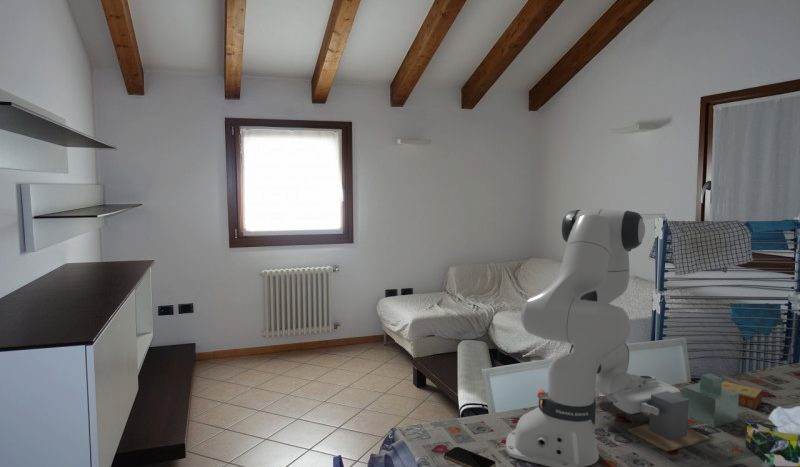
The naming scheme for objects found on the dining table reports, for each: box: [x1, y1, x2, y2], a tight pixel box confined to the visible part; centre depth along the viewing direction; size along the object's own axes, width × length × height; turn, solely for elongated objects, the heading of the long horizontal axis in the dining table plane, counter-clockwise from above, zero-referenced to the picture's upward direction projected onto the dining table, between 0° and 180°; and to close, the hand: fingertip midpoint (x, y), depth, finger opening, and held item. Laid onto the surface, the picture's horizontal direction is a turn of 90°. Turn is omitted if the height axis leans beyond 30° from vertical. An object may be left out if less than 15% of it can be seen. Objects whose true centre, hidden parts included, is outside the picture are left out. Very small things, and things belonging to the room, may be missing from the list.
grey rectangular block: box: [649, 391, 689, 441], centre depth 139 cm, size 6×6×10 cm
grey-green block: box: [681, 372, 739, 428], centre depth 151 cm, size 10×10×12 cm
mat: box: [627, 423, 710, 453], centre depth 140 cm, size 16×12×1 cm
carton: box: [698, 380, 764, 410], centre depth 165 cm, size 8×16×4 cm, turn 43°
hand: (672, 409), depth 138 cm, fingers open, 8 cm apart
